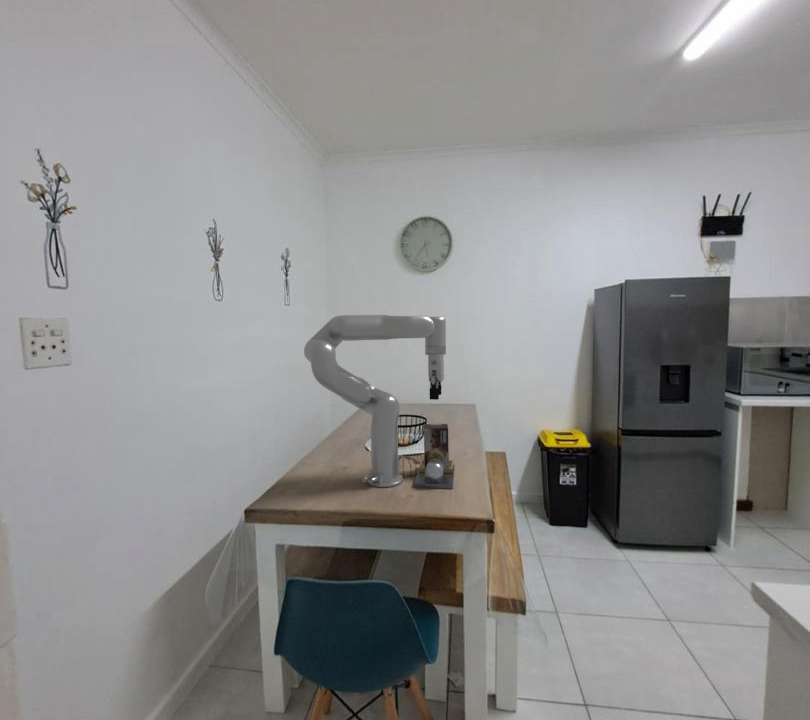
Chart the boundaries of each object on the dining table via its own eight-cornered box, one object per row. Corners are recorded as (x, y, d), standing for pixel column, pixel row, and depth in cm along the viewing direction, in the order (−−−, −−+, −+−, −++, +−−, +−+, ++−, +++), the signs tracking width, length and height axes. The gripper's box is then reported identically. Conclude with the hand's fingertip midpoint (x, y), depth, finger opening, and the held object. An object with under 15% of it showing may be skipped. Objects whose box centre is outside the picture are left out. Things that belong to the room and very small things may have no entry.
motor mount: (452, 488, 142) (452, 467, 142) (414, 487, 144) (414, 465, 143) (454, 468, 162) (454, 449, 161) (420, 467, 164) (420, 448, 163)
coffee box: (448, 465, 161) (448, 423, 159) (449, 471, 154) (448, 427, 153) (424, 465, 161) (423, 423, 160) (424, 470, 155) (423, 427, 153)
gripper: (443, 352, 145) (443, 401, 147) (447, 349, 162) (447, 393, 164) (422, 352, 147) (422, 401, 148) (428, 349, 164) (428, 392, 165)
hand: (435, 396), depth 156 cm, fingers open, 9 cm apart
